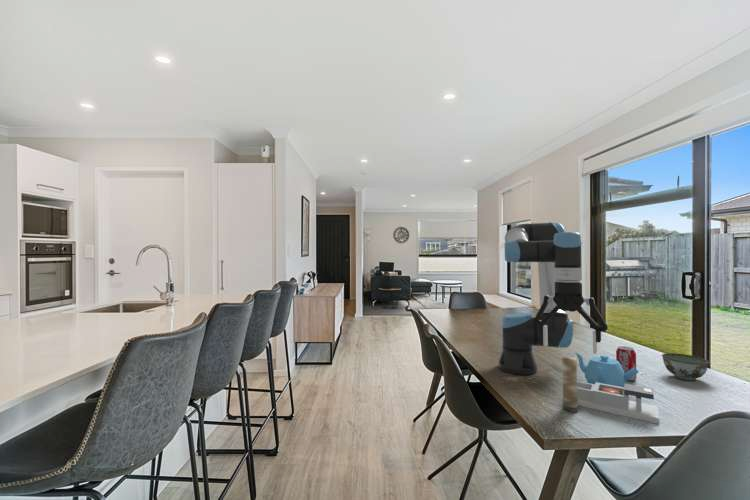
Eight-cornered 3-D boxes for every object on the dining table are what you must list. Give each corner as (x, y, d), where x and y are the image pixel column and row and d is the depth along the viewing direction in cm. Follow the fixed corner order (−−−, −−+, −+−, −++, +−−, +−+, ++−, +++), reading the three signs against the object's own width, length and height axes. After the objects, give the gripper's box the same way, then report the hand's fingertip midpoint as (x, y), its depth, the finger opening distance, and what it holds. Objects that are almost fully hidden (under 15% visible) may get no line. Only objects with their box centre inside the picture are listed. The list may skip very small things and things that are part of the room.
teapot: (595, 394, 118) (595, 361, 119) (573, 380, 132) (573, 350, 132) (640, 394, 118) (639, 362, 118) (613, 380, 132) (613, 350, 132)
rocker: (624, 393, 104) (623, 388, 104) (624, 387, 109) (624, 382, 109) (653, 399, 100) (653, 394, 100) (653, 393, 105) (652, 387, 105)
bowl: (660, 378, 133) (660, 358, 133) (663, 370, 143) (662, 351, 143) (710, 387, 124) (709, 365, 124) (708, 378, 133) (708, 357, 133)
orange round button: (601, 396, 109) (601, 391, 109) (602, 391, 112) (602, 387, 112) (619, 399, 106) (619, 395, 106) (620, 394, 109) (620, 390, 109)
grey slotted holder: (567, 402, 112) (566, 386, 112) (572, 393, 120) (571, 377, 120) (659, 423, 98) (658, 404, 98) (657, 411, 106) (657, 393, 106)
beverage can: (640, 382, 129) (639, 350, 130) (621, 381, 131) (620, 349, 131) (631, 376, 136) (630, 346, 136) (613, 375, 137) (612, 345, 137)
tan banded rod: (561, 410, 107) (560, 358, 107) (564, 405, 110) (563, 355, 110) (576, 413, 104) (575, 361, 104) (578, 409, 107) (577, 357, 108)
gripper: (523, 280, 112) (524, 345, 112) (615, 283, 97) (617, 358, 97) (528, 279, 118) (529, 341, 118) (617, 282, 103) (618, 353, 103)
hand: (569, 349), depth 107 cm, fingers open, 13 cm apart
